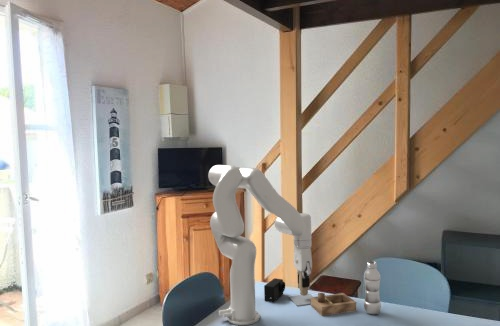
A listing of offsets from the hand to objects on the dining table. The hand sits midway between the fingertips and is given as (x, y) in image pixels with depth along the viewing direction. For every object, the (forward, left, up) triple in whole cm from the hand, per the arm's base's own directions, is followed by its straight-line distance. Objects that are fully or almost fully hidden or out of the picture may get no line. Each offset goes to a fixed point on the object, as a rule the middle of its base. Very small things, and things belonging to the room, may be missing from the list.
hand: (303, 284), depth 172 cm
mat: (0, 0, -7) cm, 7 cm away
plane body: (+8, -12, -7) cm, 16 cm away
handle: (0, 0, -4) cm, 4 cm away
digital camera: (-11, +6, -7) cm, 14 cm away
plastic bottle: (+20, -20, -7) cm, 30 cm away
